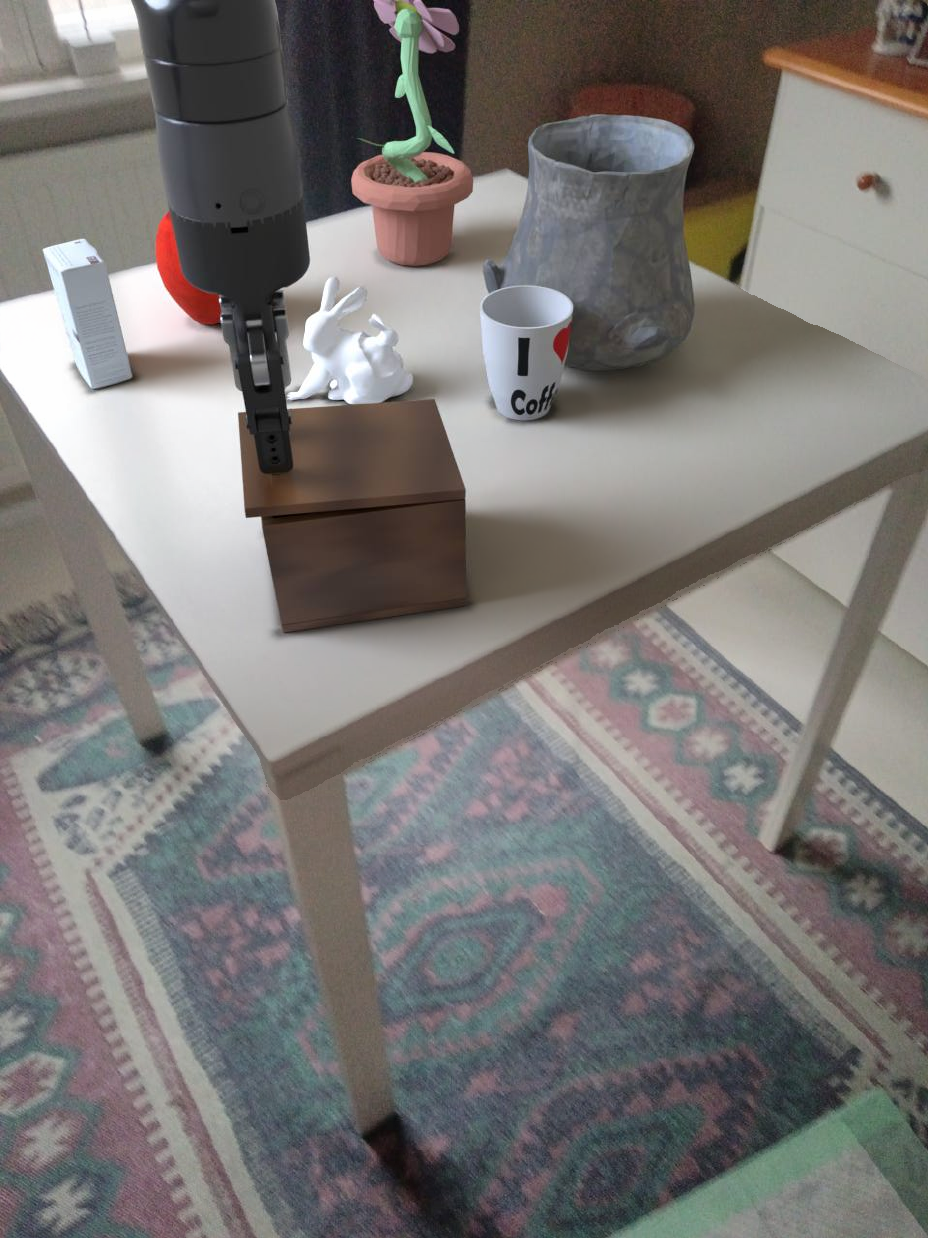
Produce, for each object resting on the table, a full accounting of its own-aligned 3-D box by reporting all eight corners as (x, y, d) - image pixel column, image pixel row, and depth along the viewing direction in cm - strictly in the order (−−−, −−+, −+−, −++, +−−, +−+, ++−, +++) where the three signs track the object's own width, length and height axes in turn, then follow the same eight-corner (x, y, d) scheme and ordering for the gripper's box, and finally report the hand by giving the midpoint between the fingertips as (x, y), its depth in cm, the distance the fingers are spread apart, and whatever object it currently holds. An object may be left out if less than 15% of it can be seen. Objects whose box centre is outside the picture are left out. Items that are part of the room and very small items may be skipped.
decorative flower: (504, 252, 116) (510, -48, 96) (425, 293, 109) (412, -23, 88) (413, 220, 124) (400, -67, 103) (333, 256, 116) (301, -45, 95)
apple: (231, 348, 101) (208, 230, 92) (150, 331, 103) (121, 215, 95) (279, 305, 107) (262, 192, 99) (202, 291, 110) (179, 179, 102)
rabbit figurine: (284, 400, 93) (269, 305, 87) (308, 361, 99) (295, 268, 92) (406, 412, 92) (401, 315, 85) (424, 371, 97) (420, 277, 90)
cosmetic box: (74, 365, 99) (36, 246, 90) (118, 352, 100) (84, 235, 92) (93, 392, 95) (55, 271, 86) (138, 378, 96) (105, 259, 88)
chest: (282, 633, 71) (261, 526, 64) (272, 533, 79) (253, 430, 72) (467, 605, 73) (465, 499, 66) (438, 511, 81) (435, 408, 74)
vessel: (538, 423, 90) (549, 203, 76) (461, 316, 105) (458, 116, 91) (747, 381, 95) (793, 167, 81) (644, 285, 110) (668, 90, 96)
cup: (506, 438, 88) (508, 336, 81) (465, 396, 94) (463, 297, 87) (582, 415, 91) (591, 314, 84) (538, 375, 96) (542, 277, 89)
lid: (245, 518, 63) (236, 453, 60) (239, 421, 71) (230, 359, 68) (465, 499, 66) (469, 435, 62) (434, 407, 74) (436, 347, 70)
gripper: (168, 151, 59) (216, 397, 71) (164, 248, 49) (221, 516, 61) (292, 143, 61) (319, 386, 72) (313, 236, 50) (341, 502, 62)
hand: (274, 445), depth 67 cm, fingers closed on lid, 5 cm apart
